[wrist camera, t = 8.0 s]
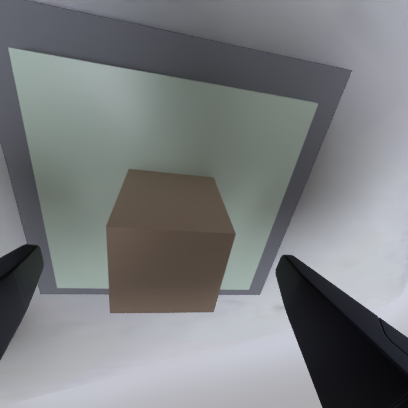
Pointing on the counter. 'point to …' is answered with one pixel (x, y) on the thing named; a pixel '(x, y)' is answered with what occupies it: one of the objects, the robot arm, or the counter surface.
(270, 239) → the mat
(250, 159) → the lid
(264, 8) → the counter surface
